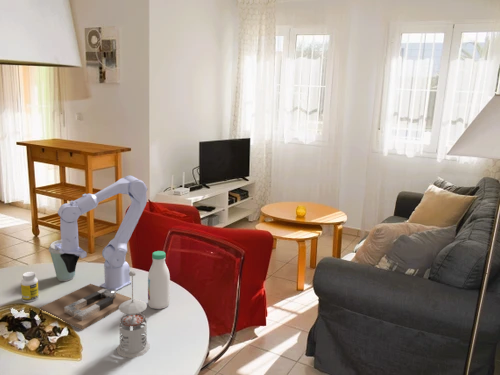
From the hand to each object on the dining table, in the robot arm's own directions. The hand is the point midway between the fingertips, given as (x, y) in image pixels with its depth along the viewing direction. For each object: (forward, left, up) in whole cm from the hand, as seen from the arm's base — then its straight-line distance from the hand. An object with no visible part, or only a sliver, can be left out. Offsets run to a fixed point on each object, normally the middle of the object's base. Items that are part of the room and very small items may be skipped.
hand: (71, 271), depth 155 cm
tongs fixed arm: (+5, +17, -8) cm, 20 cm away
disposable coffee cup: (-8, -14, -10) cm, 19 cm away
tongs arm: (+3, +14, -8) cm, 16 cm away
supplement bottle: (+10, -10, -10) cm, 17 cm away
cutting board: (+3, +11, -9) cm, 15 cm away
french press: (+12, +41, -10) cm, 44 cm away
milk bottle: (-12, +31, -10) cm, 35 cm away
